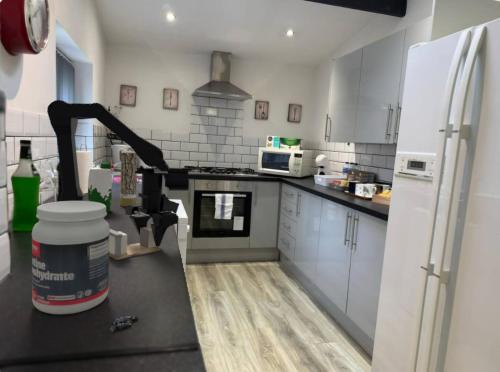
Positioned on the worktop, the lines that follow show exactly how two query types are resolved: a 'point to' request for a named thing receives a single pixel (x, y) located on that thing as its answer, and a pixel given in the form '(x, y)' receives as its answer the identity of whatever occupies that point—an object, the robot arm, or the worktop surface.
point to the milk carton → (100, 185)
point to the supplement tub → (70, 256)
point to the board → (135, 251)
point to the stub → (146, 237)
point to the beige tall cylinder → (128, 178)
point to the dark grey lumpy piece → (123, 323)
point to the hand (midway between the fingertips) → (150, 243)
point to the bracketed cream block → (117, 243)
